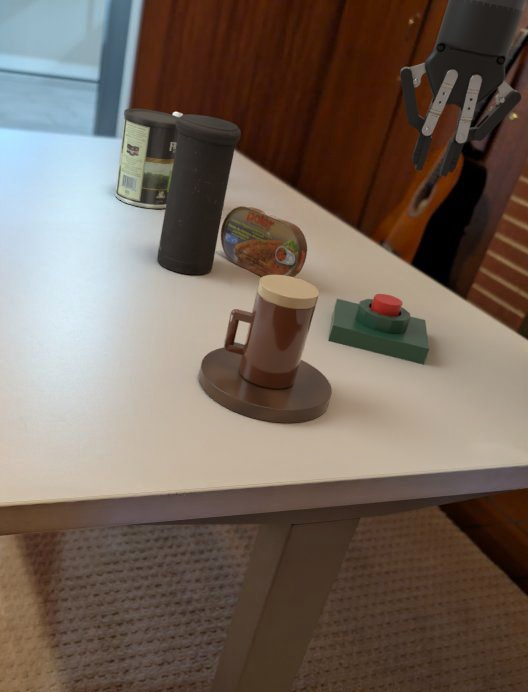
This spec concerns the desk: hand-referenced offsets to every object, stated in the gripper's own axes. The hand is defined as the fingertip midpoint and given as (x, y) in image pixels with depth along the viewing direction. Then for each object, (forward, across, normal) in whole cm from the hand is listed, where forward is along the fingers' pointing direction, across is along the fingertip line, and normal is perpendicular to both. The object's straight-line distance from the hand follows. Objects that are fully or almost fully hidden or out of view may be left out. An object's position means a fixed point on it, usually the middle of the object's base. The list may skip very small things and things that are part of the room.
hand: (430, 171), depth 86 cm
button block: (+21, 0, 0) cm, 21 cm away
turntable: (+21, -12, -22) cm, 33 cm away
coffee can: (+21, -42, +38) cm, 61 cm away
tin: (+21, -18, +15) cm, 32 cm away
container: (+21, -28, +10) cm, 37 cm away
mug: (+19, -13, -22) cm, 32 cm away
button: (+17, 0, 0) cm, 17 cm away
